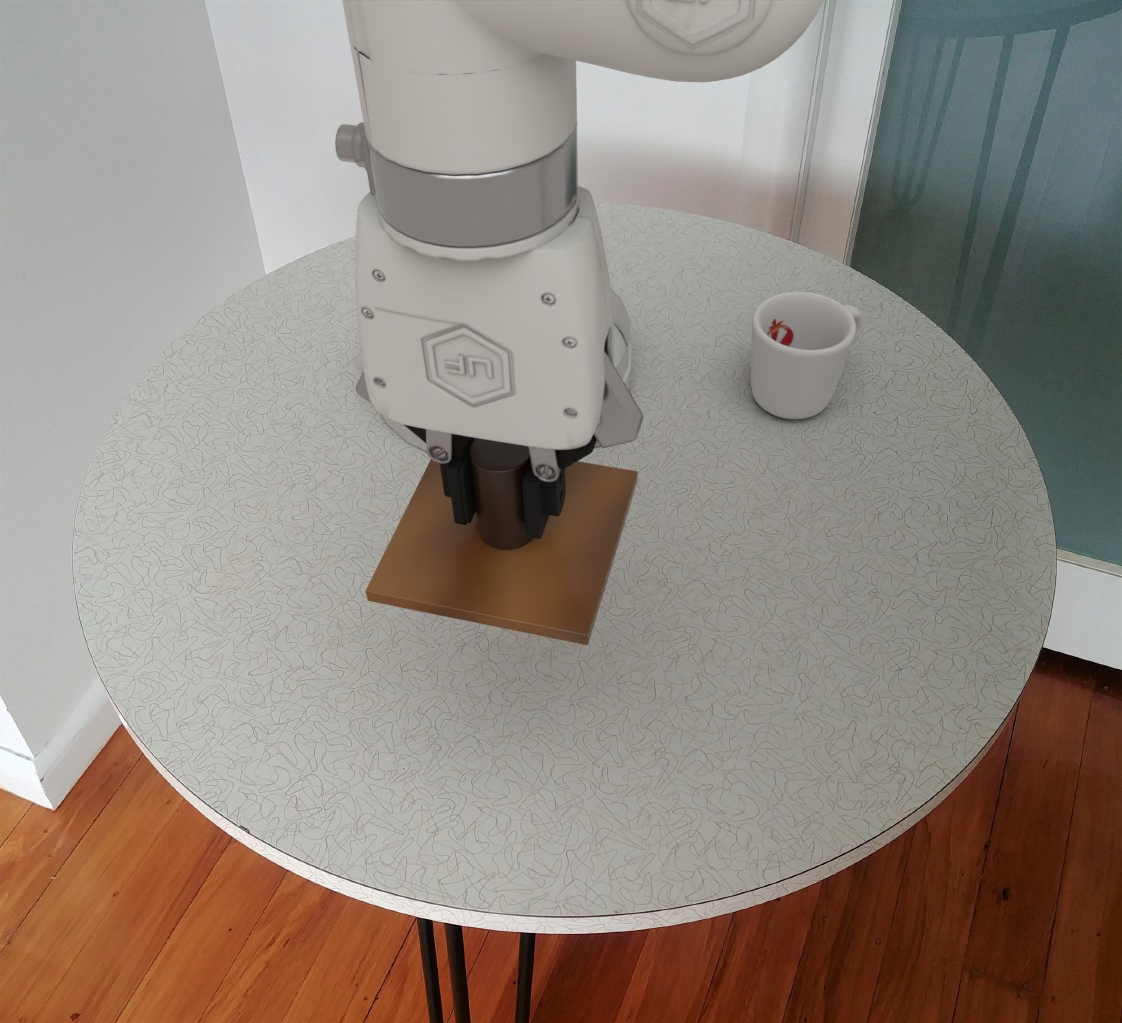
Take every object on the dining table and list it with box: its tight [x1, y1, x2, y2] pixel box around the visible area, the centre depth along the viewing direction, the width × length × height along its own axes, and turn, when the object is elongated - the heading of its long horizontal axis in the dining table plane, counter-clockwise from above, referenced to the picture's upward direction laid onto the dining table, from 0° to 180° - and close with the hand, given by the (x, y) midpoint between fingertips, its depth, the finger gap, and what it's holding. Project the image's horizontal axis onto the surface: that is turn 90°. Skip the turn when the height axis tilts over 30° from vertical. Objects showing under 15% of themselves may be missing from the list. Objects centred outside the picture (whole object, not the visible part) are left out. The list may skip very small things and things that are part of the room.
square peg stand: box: [365, 438, 639, 646], centre depth 52 cm, size 11×11×6 cm
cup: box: [750, 291, 864, 420], centre depth 85 cm, size 11×8×8 cm
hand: (506, 508), depth 52 cm, fingers closed on square peg stand, 3 cm apart
